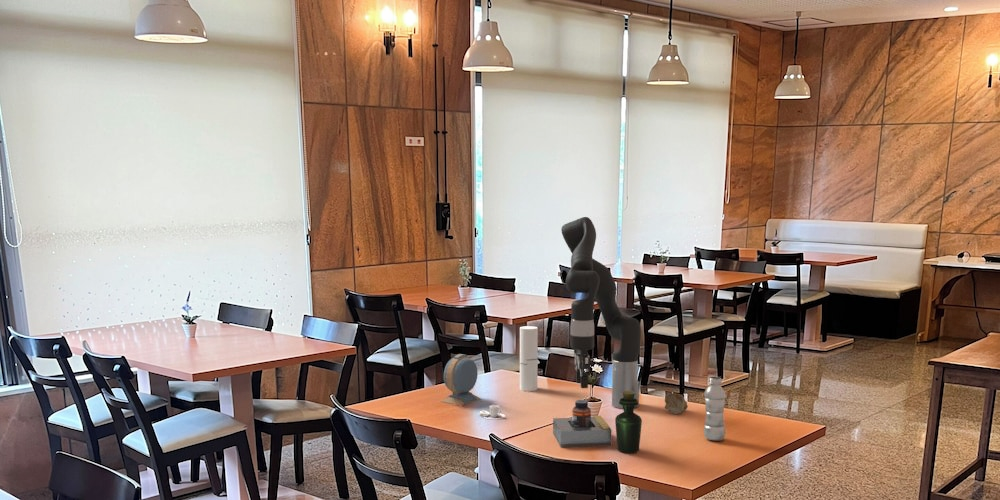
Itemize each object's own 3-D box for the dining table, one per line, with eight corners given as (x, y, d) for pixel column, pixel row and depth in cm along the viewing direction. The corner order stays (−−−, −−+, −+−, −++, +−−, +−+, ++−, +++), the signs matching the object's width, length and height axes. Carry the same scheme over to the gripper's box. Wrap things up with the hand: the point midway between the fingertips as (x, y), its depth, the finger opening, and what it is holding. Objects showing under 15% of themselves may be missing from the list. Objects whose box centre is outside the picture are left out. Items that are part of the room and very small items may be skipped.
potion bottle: (624, 456, 230) (624, 397, 228) (609, 448, 237) (610, 390, 236) (647, 452, 233) (647, 394, 232) (632, 444, 240) (632, 388, 239)
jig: (600, 431, 253) (601, 415, 253) (611, 445, 239) (611, 427, 239) (553, 433, 252) (553, 416, 251) (560, 447, 238) (560, 429, 237)
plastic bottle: (721, 444, 240) (723, 381, 239) (700, 440, 244) (701, 378, 243) (727, 438, 246) (728, 377, 244) (706, 435, 249) (707, 374, 248)
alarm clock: (462, 394, 301) (462, 349, 300) (482, 398, 296) (482, 352, 294) (438, 402, 290) (438, 356, 288) (459, 406, 284) (458, 359, 283)
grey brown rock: (660, 415, 275) (681, 417, 270) (658, 395, 275) (679, 397, 270) (671, 408, 282) (691, 409, 278) (669, 389, 282) (690, 390, 277)
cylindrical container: (537, 391, 306) (537, 329, 304) (519, 391, 306) (519, 329, 304) (537, 386, 313) (537, 326, 311) (519, 386, 313) (519, 326, 311)
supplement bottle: (592, 434, 248) (593, 399, 247) (588, 439, 242) (588, 404, 241) (574, 432, 249) (574, 398, 249) (570, 437, 244) (570, 402, 243)
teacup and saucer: (476, 417, 272) (476, 405, 271) (491, 412, 277) (491, 401, 277) (494, 422, 266) (494, 410, 265) (509, 417, 271) (509, 406, 271)
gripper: (599, 337, 236) (598, 390, 238) (589, 329, 251) (588, 379, 252) (575, 337, 236) (574, 391, 237) (566, 329, 250) (566, 380, 251)
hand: (582, 385), depth 244 cm, fingers open, 6 cm apart
